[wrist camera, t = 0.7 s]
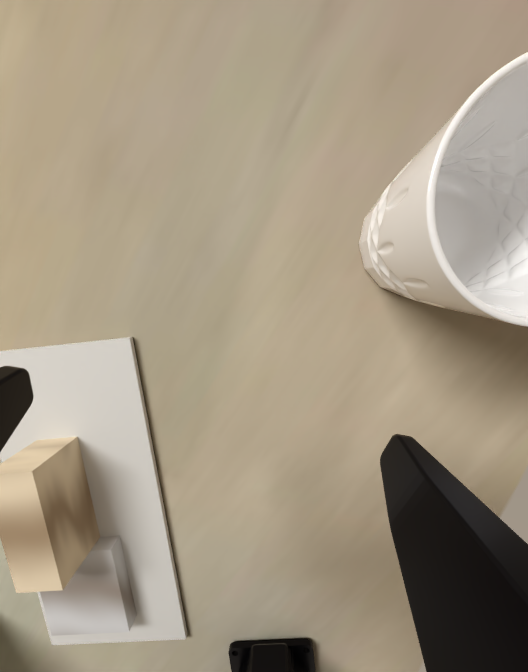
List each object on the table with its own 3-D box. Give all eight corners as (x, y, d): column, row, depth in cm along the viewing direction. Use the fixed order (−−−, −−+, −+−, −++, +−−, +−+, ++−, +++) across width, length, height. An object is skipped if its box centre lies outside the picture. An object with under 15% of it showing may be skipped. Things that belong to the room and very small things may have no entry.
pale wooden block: (136, 614, 24) (108, 680, 20) (63, 618, 24) (20, 684, 20) (98, 434, 21) (57, 469, 17) (16, 441, 22) (-42, 477, 18)
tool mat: (187, 633, 24) (186, 639, 24) (55, 639, 25) (51, 645, 24) (132, 336, 20) (129, 337, 20) (-23, 353, 21) (-29, 354, 21)
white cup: (506, 202, 18) (782, 103, 8) (442, 324, 19) (613, 366, 10) (383, 149, 18) (515, -17, 8) (327, 277, 19) (381, 269, 9)
